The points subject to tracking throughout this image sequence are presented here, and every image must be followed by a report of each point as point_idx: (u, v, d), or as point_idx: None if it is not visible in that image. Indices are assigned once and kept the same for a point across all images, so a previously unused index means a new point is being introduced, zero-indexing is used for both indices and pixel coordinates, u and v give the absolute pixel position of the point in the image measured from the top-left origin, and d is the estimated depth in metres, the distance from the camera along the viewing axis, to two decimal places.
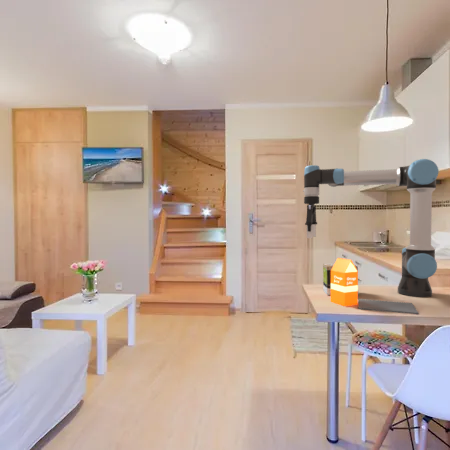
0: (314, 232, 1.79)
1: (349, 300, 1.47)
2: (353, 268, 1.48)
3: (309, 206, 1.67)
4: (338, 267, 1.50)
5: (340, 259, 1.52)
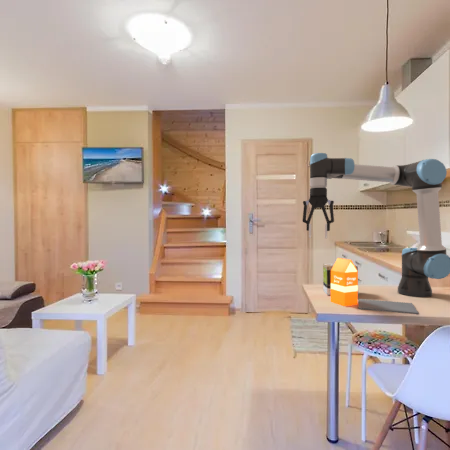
0: (325, 233, 1.53)
1: (349, 300, 1.47)
2: (353, 268, 1.48)
3: None
4: (338, 267, 1.50)
5: (340, 259, 1.52)
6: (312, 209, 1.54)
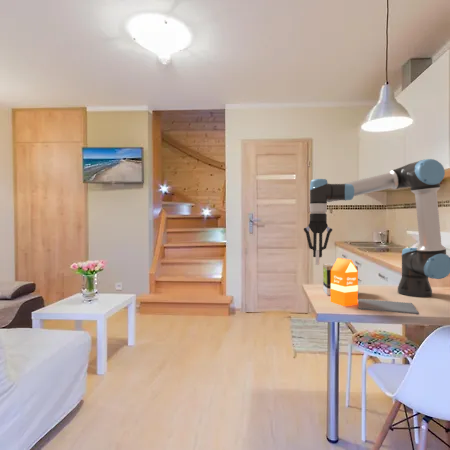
0: None
1: (349, 300, 1.47)
2: (353, 268, 1.48)
3: (304, 230, 1.57)
4: (338, 267, 1.50)
5: (340, 259, 1.52)
6: (314, 235, 1.54)
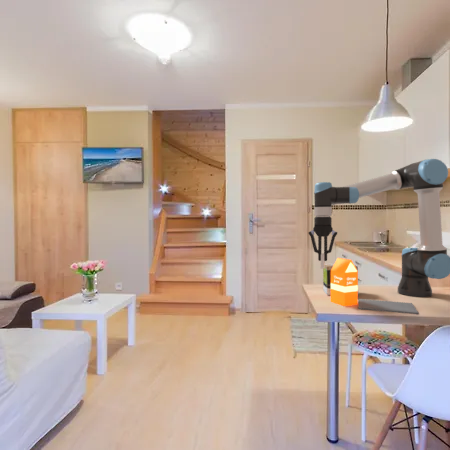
0: None
1: (349, 300, 1.47)
2: (353, 268, 1.48)
3: (309, 233, 1.56)
4: (338, 267, 1.50)
5: (340, 259, 1.52)
6: (319, 238, 1.53)
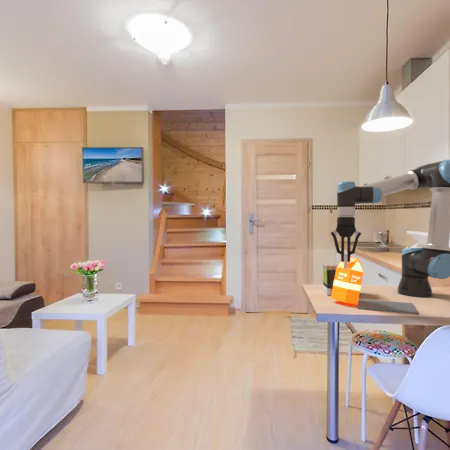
0: None
1: (350, 297, 1.47)
2: (359, 267, 1.49)
3: None
4: None
5: None
6: (342, 239, 1.49)
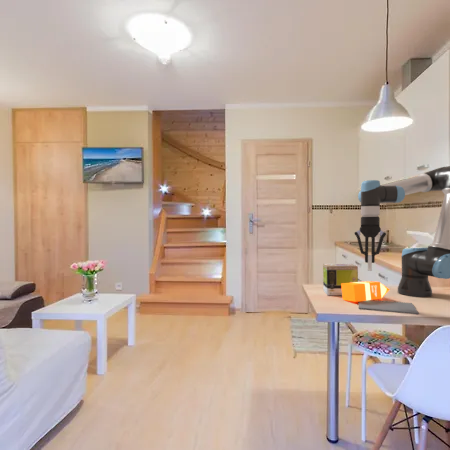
0: None
1: (358, 290, 1.50)
2: (382, 293, 1.55)
3: None
4: None
5: None
6: (367, 239, 1.46)
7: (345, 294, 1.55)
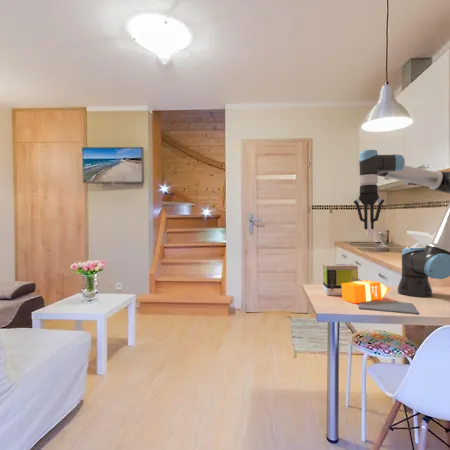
0: None
1: (358, 292, 1.50)
2: (382, 293, 1.54)
3: (354, 202, 1.55)
4: None
5: None
6: (366, 207, 1.52)
7: (345, 295, 1.54)
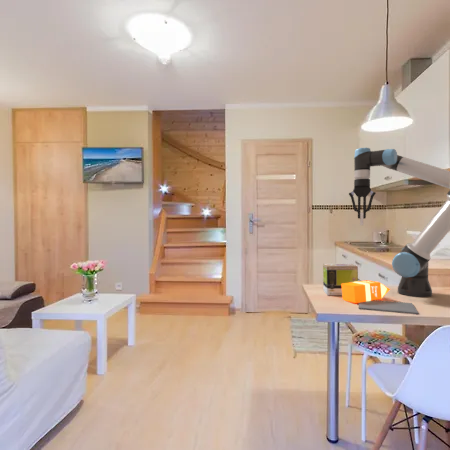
0: None
1: (358, 292, 1.50)
2: (382, 293, 1.54)
3: (349, 194, 1.75)
4: None
5: None
6: (359, 198, 1.71)
7: (345, 295, 1.54)
